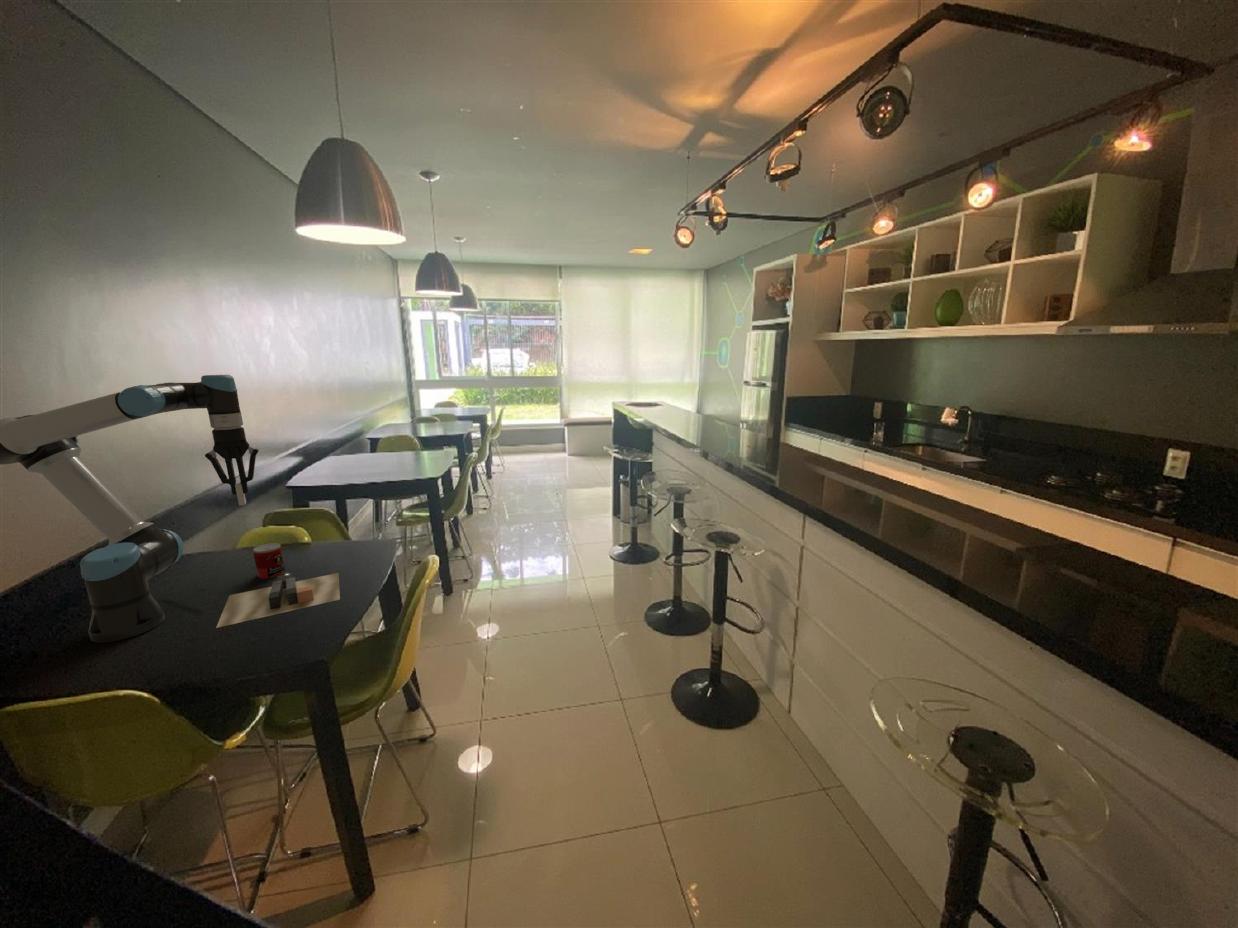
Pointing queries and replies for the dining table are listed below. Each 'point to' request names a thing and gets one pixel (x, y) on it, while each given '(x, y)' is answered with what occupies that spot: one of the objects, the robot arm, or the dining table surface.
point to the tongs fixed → (278, 590)
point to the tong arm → (291, 591)
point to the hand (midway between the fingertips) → (242, 503)
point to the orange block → (305, 594)
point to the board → (258, 600)
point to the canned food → (268, 560)
